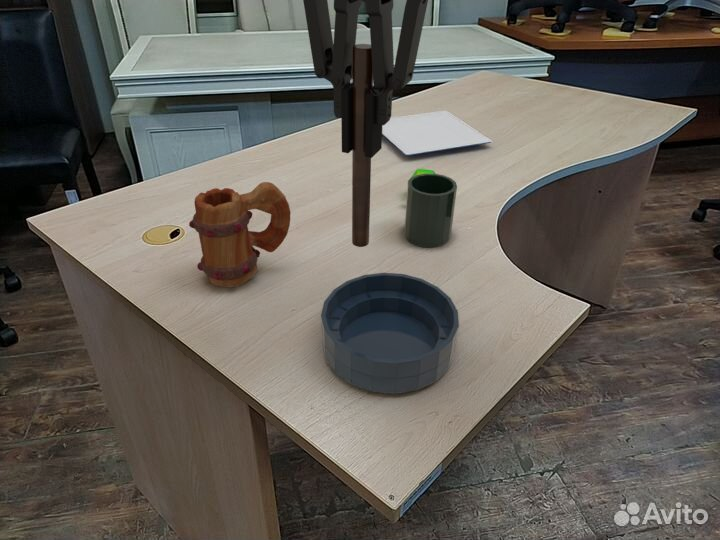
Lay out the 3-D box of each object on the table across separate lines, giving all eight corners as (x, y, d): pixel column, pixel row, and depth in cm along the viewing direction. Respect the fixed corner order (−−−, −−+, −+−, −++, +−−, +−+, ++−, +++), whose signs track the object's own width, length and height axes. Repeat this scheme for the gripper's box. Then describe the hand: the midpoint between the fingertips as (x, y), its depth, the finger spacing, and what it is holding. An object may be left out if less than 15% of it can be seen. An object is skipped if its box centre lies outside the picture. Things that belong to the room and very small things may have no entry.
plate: (491, 148, 124) (493, 140, 123) (405, 162, 118) (406, 153, 116) (445, 117, 141) (446, 109, 140) (368, 127, 135) (368, 120, 133)
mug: (202, 298, 78) (184, 209, 69) (198, 268, 84) (180, 183, 76) (299, 281, 82) (293, 194, 73) (288, 253, 88) (281, 170, 79)
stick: (371, 240, 63) (377, 45, 50) (364, 248, 61) (368, 49, 49) (356, 236, 64) (358, 42, 51) (349, 244, 62) (349, 47, 49)
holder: (455, 229, 95) (462, 178, 89) (442, 252, 89) (448, 199, 83) (413, 220, 97) (417, 170, 91) (398, 241, 91) (401, 189, 85)
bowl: (467, 325, 74) (473, 292, 70) (429, 416, 61) (434, 381, 57) (355, 293, 79) (355, 261, 76) (299, 371, 67) (296, 336, 63)
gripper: (259, -131, 41) (281, 150, 55) (443, -131, 37) (417, 178, 50) (305, -129, 47) (315, 127, 61) (470, -128, 42) (440, 149, 56)
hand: (361, 149), depth 56 cm, fingers closed on stick, 2 cm apart
